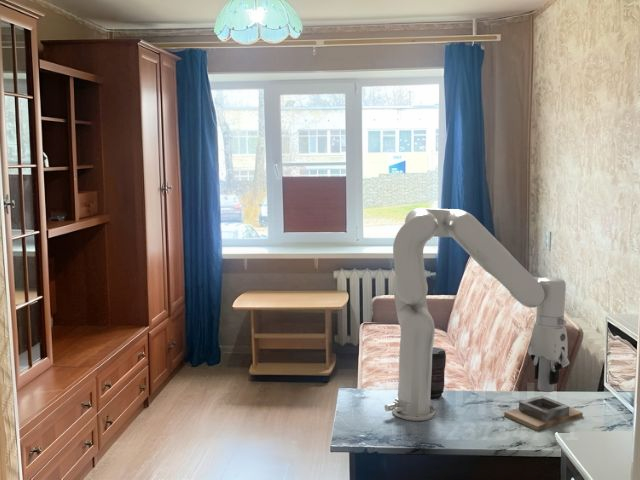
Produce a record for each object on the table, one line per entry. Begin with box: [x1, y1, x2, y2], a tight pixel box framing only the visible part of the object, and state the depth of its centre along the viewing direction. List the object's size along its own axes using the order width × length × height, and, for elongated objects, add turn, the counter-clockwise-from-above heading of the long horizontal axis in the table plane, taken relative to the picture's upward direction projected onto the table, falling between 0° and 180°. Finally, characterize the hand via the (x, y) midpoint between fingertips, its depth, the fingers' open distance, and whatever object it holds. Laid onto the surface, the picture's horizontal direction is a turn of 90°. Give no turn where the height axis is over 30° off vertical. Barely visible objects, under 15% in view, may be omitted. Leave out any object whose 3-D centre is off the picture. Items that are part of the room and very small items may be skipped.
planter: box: [537, 356, 556, 393], centre depth 199 cm, size 4×4×10 cm
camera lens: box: [430, 346, 447, 401], centre depth 214 cm, size 8×8×15 cm
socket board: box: [503, 395, 584, 431], centre depth 200 cm, size 20×12×4 cm, turn 122°
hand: (546, 380), depth 199 cm, fingers closed on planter, 4 cm apart
